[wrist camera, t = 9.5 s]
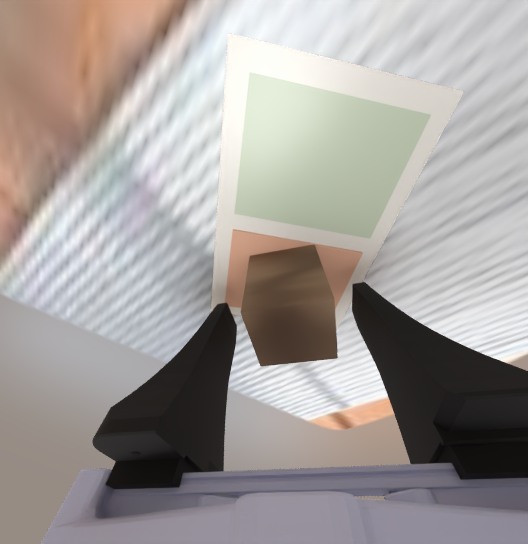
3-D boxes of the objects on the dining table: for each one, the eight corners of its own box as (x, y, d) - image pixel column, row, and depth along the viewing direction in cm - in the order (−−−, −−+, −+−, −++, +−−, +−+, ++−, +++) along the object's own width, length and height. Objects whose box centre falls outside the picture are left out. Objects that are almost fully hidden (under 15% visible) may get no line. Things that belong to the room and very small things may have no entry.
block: (314, 244, 13) (334, 299, 9) (319, 295, 15) (337, 358, 11) (249, 255, 14) (240, 312, 10) (263, 303, 16) (260, 366, 12)
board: (451, 93, 10) (468, 90, 9) (334, 322, 18) (337, 332, 17) (231, 39, 9) (227, 31, 8) (213, 304, 17) (210, 313, 17)
